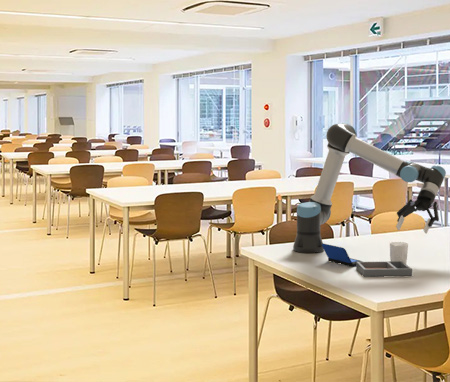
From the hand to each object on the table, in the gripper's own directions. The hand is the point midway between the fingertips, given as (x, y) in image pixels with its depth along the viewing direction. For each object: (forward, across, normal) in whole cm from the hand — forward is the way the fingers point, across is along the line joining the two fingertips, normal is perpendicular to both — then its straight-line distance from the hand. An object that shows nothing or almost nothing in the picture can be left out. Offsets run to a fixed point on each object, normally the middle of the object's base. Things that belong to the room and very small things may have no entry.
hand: (411, 230), depth 301 cm
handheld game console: (+27, +21, +6) cm, 35 cm away
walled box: (+29, -2, +9) cm, 31 cm away
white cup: (+18, 0, -3) cm, 18 cm away
